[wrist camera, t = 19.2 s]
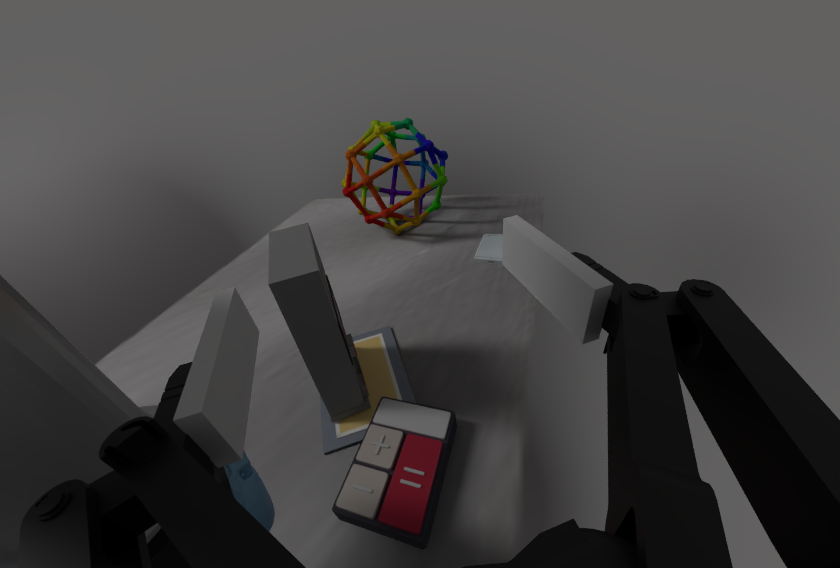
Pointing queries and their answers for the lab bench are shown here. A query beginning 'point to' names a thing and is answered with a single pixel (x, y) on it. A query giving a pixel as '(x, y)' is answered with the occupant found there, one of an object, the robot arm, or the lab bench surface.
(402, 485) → the calculator
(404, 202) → the geometric model
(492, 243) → the hard drive
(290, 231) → the grey instrument box
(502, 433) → the lab bench surface
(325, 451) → the picture board
